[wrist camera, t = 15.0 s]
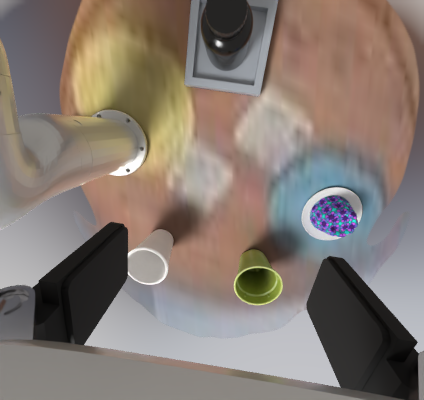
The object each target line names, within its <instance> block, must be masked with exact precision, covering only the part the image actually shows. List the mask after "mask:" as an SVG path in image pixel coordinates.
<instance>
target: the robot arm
mask: <svg viewBox="0 0 424 400" xmlns="http://www.w3.org/2000/svg"><path fill="white" fill-rule="evenodd" d="M101 116H102V117H101ZM129 119H130V122H129ZM143 147H144V149H143ZM146 155H147V140H146V136H145V134H144V132H143V129H142V128H141V126H140V125H139V124H138V122H137V121H136V120H135V119H134V118H132V117H131V116H129V115H128V114H126V113H124V112H121V111H117V110H102V111H99V112H97V113H95V114H94V115H93V116H92V117H84V116H70V115H56V114H42V113H36V114H27V115H22V116H19V117H18V115H17V109H16V103H15V98H14V92H13V86H12V80H11V76H10V70H9V65H8V60H7V56H6V52H5V49H4V46H3V44H2V42H1V40H0V230H1V229H3V228H5V227H7V226H9V225H11V224H12V223H14V222H16V221H17V220H19V219H20V218H21V217H23V216H24V215H26V214H27V213H29V212H30V211H31V210H33V209H34V208H35V207H37V206H38V205H40V204H41V203H43V202H44V201H46V200H48V199H49V198H51V197H54V196H55V195H58V194H60V193H62V192H64V191H67V190H69V189H72V188H74V187H77V186H80V185H82V184H85V183H87V182H90V181H92V180H95V179H97V178H100V177H102V176H105V175H107V174H111V175H115V176H124V175H128V174H131V173H133V172H135V171H136V170H138V169H139V168H140V167H141V166H142V164H143V163H144V161H145V159H146ZM129 169H130V170H129ZM127 276H128V229H127V228H126V227H125V226H124V224H121V223H114V222H110V223H109V224H107V225H106V226H105V227H104V228H102V229H101V230H100V231H99V232H98V233H96V234H95V235H94V236H93V237H91V238H90V239H89V240H88V241H87V242H85V243H84V244H83V245H82V246H80V247H79V248H78V249H77V250H75V252H73V253H72V254H71V255H69V256H68V257H67V258H66V259H64V260H63V261H62V262H61V263H60V264H58V265H57V266H56V267H55V268H53V269H52V270H51V271H50V272H49V273H47V274H46V275H45V276H44V277H42V278H41V279H40V280H39V283H38V284H37V285H35V286H34V287H33V288H31V287H29V286H25V285H16V286H10V287H6V288H3V289H0V400H424V351H423V352H420V353H418V352H417V351H416V350H415V349H414V347H415V345H416V344H417V341H416V340H415V339H414V337H413V336H412V335H411V334H410V333H409V332H408V331H407V330H406V328H405V327H404V326H403V325H402V324H401V323H400V322H399V321H398V319H397V318H396V317H395V316H394V315H393V314H392V313H391V312H390V310H389V309H388V308H387V307H386V306H385V305H384V304H383V302H382V301H381V300H380V299H379V298H378V297H377V296H376V295H375V293H374V292H373V291H372V290H371V289H370V288H369V287H368V285H367V284H366V283H365V282H364V281H363V280H362V279H361V278H360V276H359V275H358V274H357V273H356V272H355V271H354V270H353V269H352V267H351V266H350V265H349V264H348V263H347V262H346V261H345V260H344V259H343V258H338V257H332V256H329V257H327V259H324V260H323V261H322V264H321V267H320V269H319V272H318V275H317V277H316V280H315V282H314V285H313V288H312V290H311V293H310V295H309V298H308V301H307V311H308V313H309V315H310V318H311V320H312V322H313V325H314V327H315V329H316V332H317V334H318V336H319V338H320V341H321V343H322V345H323V348H324V350H325V352H326V354H327V357H328V359H329V362H330V364H331V366H332V368H333V371H334V373H335V375H336V378H337V380H338V382H339V384H340V387H341V388H340V387H333V386H328V385H323V384H317V383H311V382H305V381H300V380H293V379H288V378H282V377H277V376H270V375H264V374H259V373H253V372H247V371H241V370H235V369H229V368H223V367H217V366H211V365H205V364H199V363H193V362H187V361H181V360H175V359H169V358H162V357H156V356H150V355H144V354H138V353H132V352H125V351H118V350H113V349H106V348H99V347H92V346H85V345H84V344H85V342H86V341H87V339H88V338H89V336H90V335H91V333H92V332H93V330H94V329H95V327H96V326H97V324H98V322H99V321H100V319H101V318H102V316H103V315H104V313H105V312H106V310H107V309H108V307H109V306H110V304H111V303H112V301H113V300H114V298H115V297H116V295H117V294H118V292H119V291H120V289H121V287H122V286H123V284H124V283H125V281H126V279H127Z"/></svg>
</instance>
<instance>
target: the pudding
mask: <svg viewBox="0 0 424 400" xmlns="http://www.w3.org/2000/svg"><path fill="white" fill-rule="evenodd" d="M330 195H338V196H333V197H331V198H328V197H326V196H330ZM339 196H341V197H343V198H345V199H346V200H347V201H346V200H342V198H341V197H339ZM323 197H325V198H323ZM320 199H321V200H320ZM318 200H320V202H319V204H316V205H314V204H315V203H316V202H317V201H318ZM349 203H350V204H349ZM313 205H314V207H313ZM312 207H313V208H312ZM311 209H312V213H313V214H312V216H311V221H310V211H311ZM361 216H362V204H361V201H360V199H359V197H358V196H357V195H356V194H355V193H353V192H352V191H350V190H348V189H345V188H339V187H334V188H328V189H325V190H322V191H320V192H318V193H316V194H315V195H314V196H312V197H311V198H310V199H309V201H308V202H307V203H306V205H305V207H304V209H303V212H302V224H303V226H304V228H305V230H306V231H307V232H308V233H309V234H310V235H311V236H313V237H315V238H317V239H320V240H335V239H338V238H341V237H345V236H346V235H347V234H351V233H353V231H354V228H356V227H357V225H358V223H359V221H360V219H361ZM311 222H312V223H314V224H315V226H316V228H317V229H318V230H317V229H316V228H315V227H314V226H313V225H312V224H311Z"/></svg>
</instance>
